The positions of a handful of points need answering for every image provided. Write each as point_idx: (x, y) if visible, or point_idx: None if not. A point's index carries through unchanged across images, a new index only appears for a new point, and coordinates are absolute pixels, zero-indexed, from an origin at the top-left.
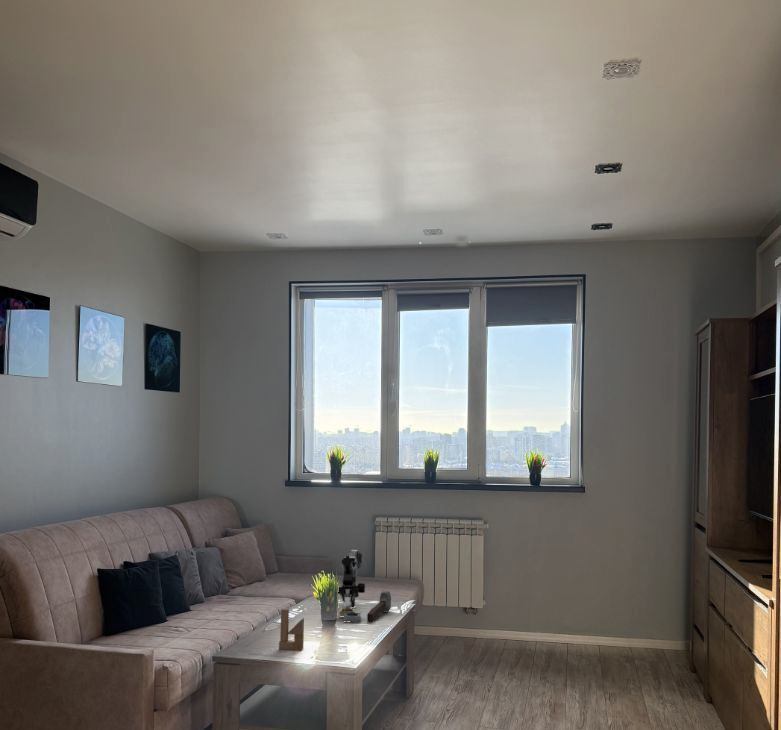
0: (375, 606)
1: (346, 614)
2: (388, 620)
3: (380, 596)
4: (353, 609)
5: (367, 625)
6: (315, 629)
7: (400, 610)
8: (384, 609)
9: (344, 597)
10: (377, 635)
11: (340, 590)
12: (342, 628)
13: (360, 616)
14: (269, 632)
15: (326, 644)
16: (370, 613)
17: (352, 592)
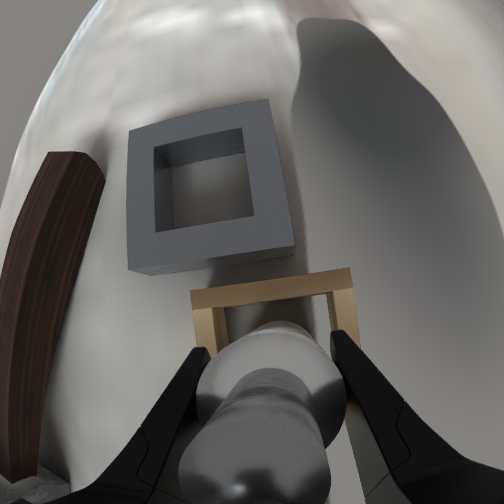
0: (11, 332)
1: (256, 167)
2: None
3: (2, 502)
4: None
5: (113, 102)
6: (379, 3)
7: None
8: (44, 471)
9: (327, 356)
10: (102, 8)
11: (464, 464)
12: (251, 21)
13: (131, 132)
14: (495, 3)
15: None
16: (56, 161)
17: (151, 469)
